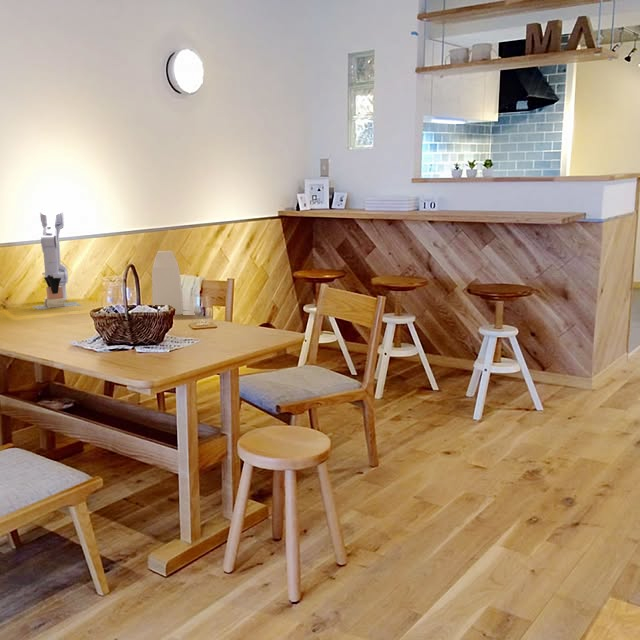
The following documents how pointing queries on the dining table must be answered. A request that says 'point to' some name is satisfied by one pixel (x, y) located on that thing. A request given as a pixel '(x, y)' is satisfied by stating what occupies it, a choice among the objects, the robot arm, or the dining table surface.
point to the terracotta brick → (54, 296)
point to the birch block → (54, 302)
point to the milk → (167, 281)
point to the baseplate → (57, 307)
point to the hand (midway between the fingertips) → (53, 292)
